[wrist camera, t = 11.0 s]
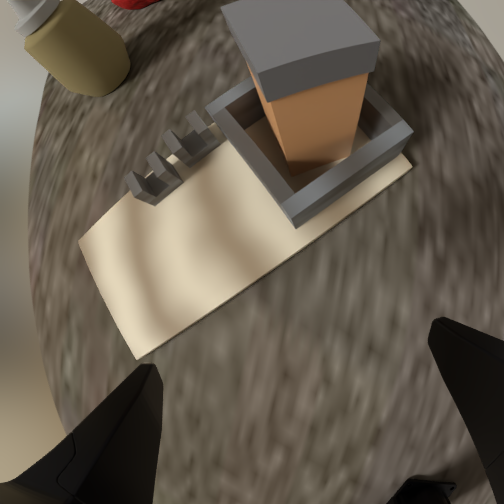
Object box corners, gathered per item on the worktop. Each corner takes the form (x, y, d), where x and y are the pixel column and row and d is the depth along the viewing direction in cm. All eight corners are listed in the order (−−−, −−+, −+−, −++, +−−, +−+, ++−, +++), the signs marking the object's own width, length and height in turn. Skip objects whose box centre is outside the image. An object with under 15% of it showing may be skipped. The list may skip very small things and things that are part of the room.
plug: (352, 157, 19) (380, 40, 8) (290, 179, 20) (257, 73, 9) (324, 104, 20) (321, -20, 8) (267, 125, 21) (220, 7, 9)
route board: (311, 68, 22) (308, 29, 17) (408, 171, 19) (430, 144, 15) (84, 242, 25) (47, 236, 20) (143, 357, 23) (107, 372, 18)
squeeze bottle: (77, 89, 28) (-21, 21, 10) (123, 43, 27) (39, -42, 9) (97, 118, 26) (-25, 38, 9) (151, 64, 25) (51, -44, 8)
